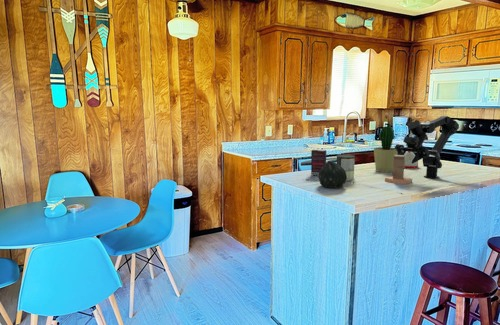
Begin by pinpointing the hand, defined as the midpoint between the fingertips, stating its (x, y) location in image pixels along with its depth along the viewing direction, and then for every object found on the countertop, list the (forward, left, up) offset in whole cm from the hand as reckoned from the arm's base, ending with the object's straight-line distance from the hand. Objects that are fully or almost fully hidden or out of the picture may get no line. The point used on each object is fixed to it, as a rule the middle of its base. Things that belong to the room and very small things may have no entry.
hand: (404, 161), depth 190 cm
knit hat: (-49, -29, -12) cm, 58 cm away
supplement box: (+23, -43, -12) cm, 50 cm away
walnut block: (+4, -1, -9) cm, 10 cm away
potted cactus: (-24, -29, -12) cm, 40 cm away
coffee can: (+19, -25, -12) cm, 34 cm away
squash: (+39, -16, -12) cm, 44 cm away
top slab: (+4, 0, -11) cm, 12 cm away
